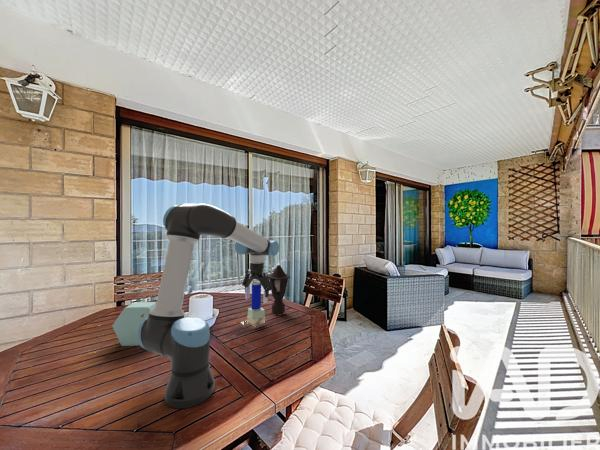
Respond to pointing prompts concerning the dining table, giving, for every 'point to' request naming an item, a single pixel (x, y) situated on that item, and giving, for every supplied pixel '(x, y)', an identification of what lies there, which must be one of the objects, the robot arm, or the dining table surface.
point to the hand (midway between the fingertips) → (256, 300)
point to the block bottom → (255, 321)
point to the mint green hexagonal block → (131, 322)
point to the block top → (256, 313)
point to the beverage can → (256, 295)
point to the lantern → (278, 289)
